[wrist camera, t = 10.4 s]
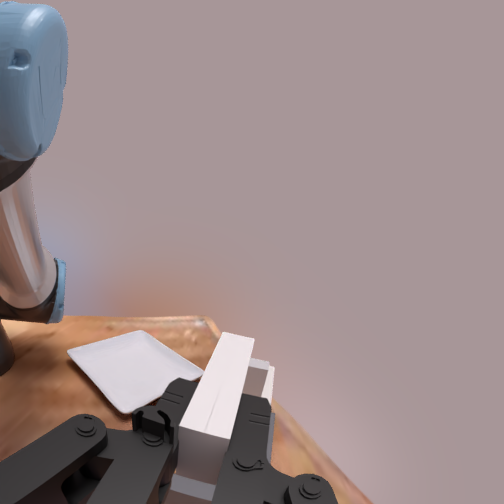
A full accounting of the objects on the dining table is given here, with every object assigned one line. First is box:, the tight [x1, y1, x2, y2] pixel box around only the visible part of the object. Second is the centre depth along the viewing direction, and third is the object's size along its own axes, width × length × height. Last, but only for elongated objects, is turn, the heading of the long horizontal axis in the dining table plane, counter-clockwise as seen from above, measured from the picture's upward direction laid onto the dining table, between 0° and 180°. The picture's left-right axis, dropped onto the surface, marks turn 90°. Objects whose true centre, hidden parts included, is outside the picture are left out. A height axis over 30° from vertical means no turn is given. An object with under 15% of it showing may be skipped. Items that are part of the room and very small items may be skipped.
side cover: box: [242, 358, 275, 405], centre depth 43 cm, size 16×10×10 cm, turn 173°
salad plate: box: [67, 330, 204, 414], centre depth 55 cm, size 21×21×3 cm
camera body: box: [164, 413, 275, 504], centre depth 34 cm, size 20×12×9 cm, turn 173°
